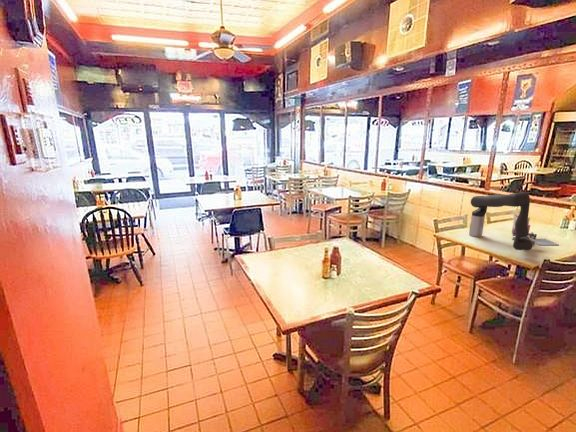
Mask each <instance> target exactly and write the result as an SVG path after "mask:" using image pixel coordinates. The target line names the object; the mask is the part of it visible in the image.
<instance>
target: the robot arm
mask: <svg viewBox="0 0 576 432" xmlns="http://www.w3.org/2000/svg"><path fill="white" fill-rule="evenodd" d="M530 202H531V198H530V195H529V193H527V192H526V191H521V192H513V193H509V194H491V195H476V196H473V197H471V199H470V205H471V206H472V207H473V208H477V209H475V210H472V212H471V218H470V225H469V231H468V232H469V233H468V234H469V236H471V237H475V238H476V237H477V238H481V237H483V234H484V233H483V231H484V224H485V219H486V213H487V211H488V210H487V209H488V208H489V207H490V208H500V207H501V208H502V207H512V208H513V207H514V208H515V207H517V208H518V207H519V208H520V211H519V213H518V214H519V216H518V218H517V220H516V223H515V231H513V233H512V237H515V240H514V241H513V244H512V245H513V248H514V250H516V251H530V250H532V249H533V246H534V244H532V242H531V240H530V239H537V234H538V233H537V234H536V233H534V232H532V231H531V232H529V233H528V217H529V212H530V205H531V204H530Z"/></svg>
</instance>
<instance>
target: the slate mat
mask: <svg viewBox="0 0 576 432" xmlns="http://www.w3.org/2000/svg"><path fill="white" fill-rule="evenodd" d="M530 239H531V240H533V241H535V244H534V245H538V246H559V244H558V243H555V242H554V241H552V240H550V239H547V238H536V239H533V238H530Z"/></svg>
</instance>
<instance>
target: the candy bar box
mask: <svg viewBox="0 0 576 432" xmlns="http://www.w3.org/2000/svg"><path fill="white" fill-rule="evenodd" d="M519 214H520V213H516V214H514V216H513V217H514V218H513V222H512V223H513V225H512V230H511V233H512V234H513V231H515V223H516V220H517V218H518V216H519ZM530 219H531V218H530V217H529V216H528V225H530Z"/></svg>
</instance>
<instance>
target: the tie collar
mask: <svg viewBox="0 0 576 432" xmlns="http://www.w3.org/2000/svg"><path fill="white" fill-rule="evenodd" d="M531 239H532V238H530V240H531ZM513 240H515V236H512V241H513ZM531 242H532V244H533V245H536V244H535V241H533V240H531Z"/></svg>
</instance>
